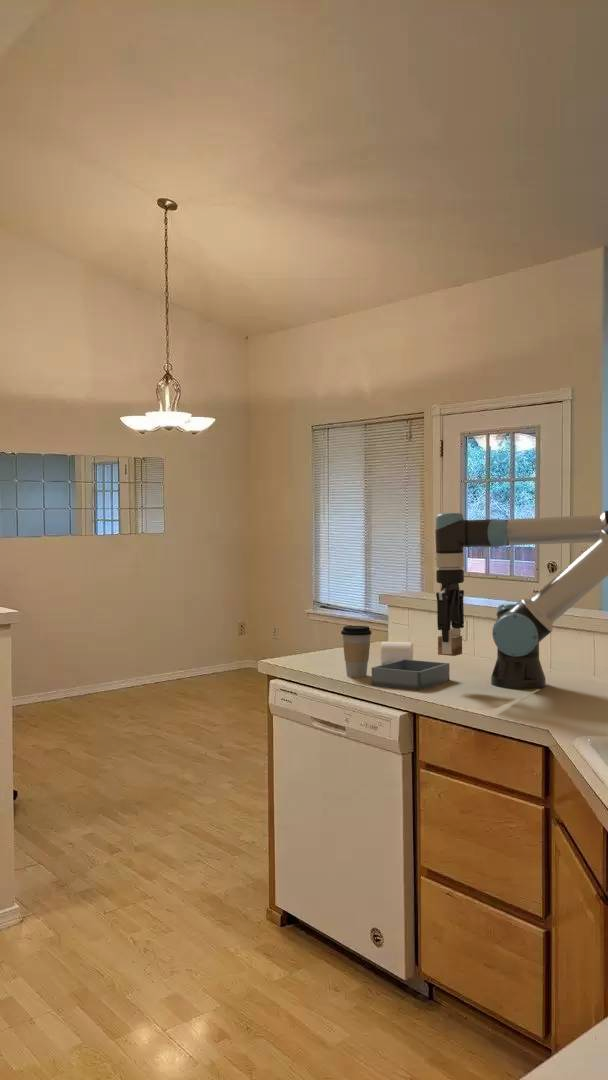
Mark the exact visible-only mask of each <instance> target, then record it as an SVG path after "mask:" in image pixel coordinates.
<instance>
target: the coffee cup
mask: <svg viewBox="0 0 608 1080" xmlns="http://www.w3.org/2000/svg"><path fill="white" fill-rule="evenodd" d="M340 635H342V641H343V642H342V645H343V655H344V662H345V671H346V676H347V677H348V676H351V677H350V678H355V677H360V678H364V677H363V676H365V677H367V676H368V675H367V673H368V665H369V664H368V663H369V659H370V649H371V648H370V647H371V641H370V640H371V635H372V630H370V627H369V626H368V625H367V626H366V625H345V626H343V628H342V630H341V631H340Z"/></svg>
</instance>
